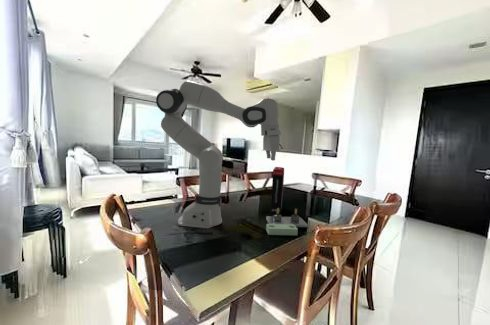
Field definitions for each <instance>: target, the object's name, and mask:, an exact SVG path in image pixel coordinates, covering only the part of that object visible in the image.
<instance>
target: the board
mask: <svg viewBox="0 0 490 325" xmlns="http://www.w3.org/2000/svg"><path fill="white" fill-rule="evenodd" d="M298 229H299V228H298V227H296V226H295V225H293V224H269V223H266V226H265V230H266V231H265V232H267V235H270V236H298V233H299V232H298Z"/></svg>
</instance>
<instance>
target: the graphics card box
mask: <svg viewBox="0 0 490 325" xmlns="http://www.w3.org/2000/svg"><path fill="white" fill-rule="evenodd" d="M284 179H285V167H283V166H275V167H274V168H273V169H272V180H271V181H272V184H271V202H270V213H272V214H273V213H274V214H277V208H279V215H282V209H283V197H284V181H285V180H284Z"/></svg>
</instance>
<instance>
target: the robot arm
mask: <svg viewBox="0 0 490 325" xmlns="http://www.w3.org/2000/svg"><path fill="white" fill-rule="evenodd" d="M155 103H156V106H157V107H158V109H159V110H160V111H161V112H163V114H164V117H163V118H162V119H161V122H160V128H161V129H162V130H163V131H164V132H165V133H166V135H168V137H169V138H171V140H173V141H174V142H175V143H176V144H177V145H179V147H181V148H182V149H183V150H185V151H186V152H187V153H189V154H190V155H192V156H193V157H194V158H196V159H197V160H198V175H199V176H198V177H199V182H198V183H199V187H198V193H195V194H194V201H193V202H192V203H191V204H189V205H188V206H186V207H185V209H184V211H183V213H182V215H181V216H180V217H179V218H178V220H177V225H178V226H181V227H191V228H198V229H199V228H200V229H210V228H212V227H215V226H218V225H220V224H222V223H223V219H222V214H221V206H222V195H221V190H222V163H223V162H222V161H223V158H224V155H223V153H222V150H220V149H219V147H217V146H216V145H215V144H214V143H212V142H211V141H209V139H207V138H206V137H204V136H203V135H202V134H201V133H199V132H198V131H197V130H196V129H195V128H194V127H193V126H192V125H190V124H189V123H188V122H186V121H185V120H184V119H183V117H184V116H185V113H186V110H187V107H188V105H191V106H194V107H197V108H199V109H201V110H205V111H209V112H213V113H214V112H215V113H222V114H225V115H227V116H230V117H232V118H234V119H237V120H239V121H240V122H241V123H242V124H243V125H245V126H246V127H247V128H255V127H257V126H259V125H260V132H261V134H260V135H261V136H262V137H263V138H262V140H263V141H262V146H263V150H265V153H266V158H267V159H270V161H275V160H276V155H277V152H279V150H280V136H281V130H280V128H279V121H278V120H279V107H278V102H277V101H276V100H275V99H273V98H268V97H267V98H261V99H260V101H258V102H257V103H255V104H253V105H250V106H248V107H246V108H244V107H241V106H239V105H237V104H234V103H232V102H229V101H228V100H227V99H225V98H224V96H222V95H221V93H220V92H218V91H217V90H216V89H214V88H212V87H210V86H208V85H205V84H203V83H199V82H195V81H190V80H185V81H184V82H182V84H181V85H180V87H179V89H178V88H170V89H164V90H161V91H159V92H158V94H157V96H156V98H155Z"/></svg>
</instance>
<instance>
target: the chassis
mask: <svg viewBox="0 0 490 325" xmlns="http://www.w3.org/2000/svg"><path fill="white" fill-rule="evenodd" d="M297 213H298V208H294V213H293V214H291V215H290V216H282V214H279V208H277V213H274V214H273V215H272V216H269V215H266V217H265V218H266V221H267V224H293V225H295V226H296V228H308V223H307V222H306V221H305V220H304V219H303V218H302V217H300V216H299V215H298V214H297Z"/></svg>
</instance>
